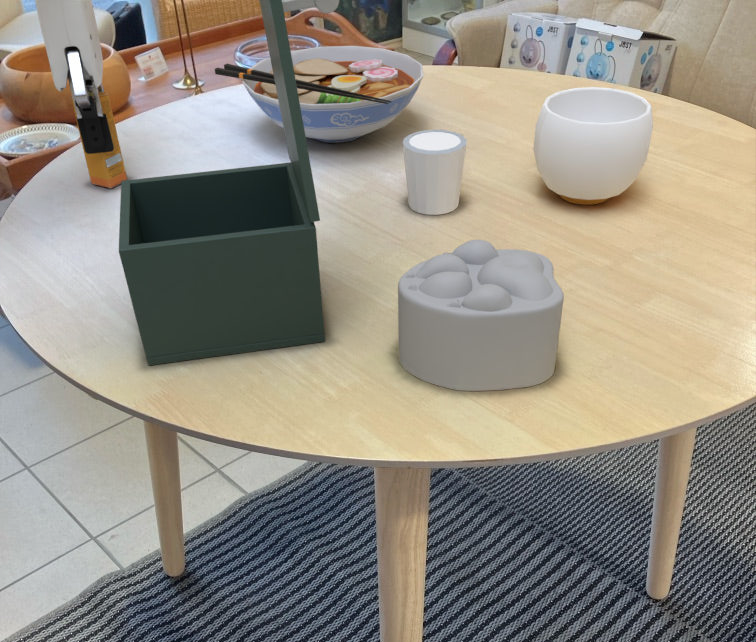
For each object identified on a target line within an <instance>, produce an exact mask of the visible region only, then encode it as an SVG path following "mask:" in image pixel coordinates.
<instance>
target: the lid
mask: <svg viewBox="0 0 756 642" xmlns="http://www.w3.org/2000/svg"><path fill="white" fill-rule="evenodd" d="M258 1H259V6H260V11H261V17H262V22H263V27H264V32H265V38H266V43H267V47H268V53H269V58H270V59H271V64H272V70H273V75H274V80H275V85H276V91H277V96H278V101H279V106H280V111H281V117H282V122H283V127H284V128H283V132H284V137H285V142H286V147H287V153H288V157H289V161H290V162H291V164H292V167H293V170H294V173H295V177H296V180H297V183H298V186H299V189H300V192H301V195H302V198H303V201H304V204H305V207H306V210H307V213H308V216H309V220H310V222H314V223H315V222H319V221H321V218H320V217H321V216H320V212H319V207H318V205H319V204H318V199H317V195H316V188H315V184H314V178H313V177H314V176H313V173H312V172H313V171H312V166H311V165H312V164H311V159H310V155H309V149H308V143H307V137H306V136H305V131H304V125H303V119H302V113H301V108H300V102H299V96H298V91H297V85H296V79H295V73H294V68H293V62H292V56H291V51H292V50H291V46H290V45H291V44H290V41H289V39H290V38H289V33H288V28H287V23H286V17H285V13H289V12H295V11H300V10H304V9H310V8H316V9H317V10H318V11H319V12H321V13H322V14H331V13H333V12H335V11H336V10H337V9H338V7H339V4H340V0H258Z"/></svg>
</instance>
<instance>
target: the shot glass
mask: <svg viewBox="0 0 756 642" xmlns="http://www.w3.org/2000/svg"><path fill="white" fill-rule="evenodd" d="M467 143H468V140H467V138H466V137H465V136H464V135H463V134H461V133H458V132H456V131H452V130H446V129H426V130H425V129H424V130H418V131H416V132H413V133H410V134H408V135H406V136H405V137H404V138H403V141H402V150H403V151H402V152H403V159H404V162H403V163H404V172H405V182H406V191H407V202H408V207H409V208H410V209H411V210H412V211H414V212H415V213H418V214H422V215H427V216H429V215H430V216H438V215H446V214H448V213H451V212H453V211H455V210H456V209H458V207H459V202H460V196H461V187H462V180H463V172H464V165H465V158H466V150H467Z"/></svg>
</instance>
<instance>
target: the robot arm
mask: <svg viewBox="0 0 756 642" xmlns="http://www.w3.org/2000/svg"><path fill="white" fill-rule="evenodd" d="M34 2H35V7H36V12H37V16H38V21H39V25H40V30H41V34H42V39H43V42H44V46H45V51H46V55H47V59H48V63H49V68H50V72H51V76H52V80H53V84H54V88H55V89H56V91H57V90H58V91H59V92H63V91H64V89H66V88H67V84H69V89H70V92H71V96H72V97H73V102H74V106H75V110H76V115H77V117H76V116H75V120H76V119H77V121H76V124H77V123H78V125H77V127H78V126H79V129H78V131H79V130H80V133H79V135H80V134H81V138H82V142H83V145H84V149H85V152H86V153H87V154H94V153H103V152H112V151H113V150H114V145H113V141H112V137H111V133H110V129H109V124H108V120H107V116H106V114H103V111H102V106H101V101H100V97H99V92H104V93H106V92H105V89H104V85H103V76H104V74H103V73H104V58H103V52H102V45H101V40H100V34H99V28H98V24H97V20H96V19H97V18H96V16H95V15H96V14H95V11H94V6H93V2H92V0H34ZM88 92H93V97H94V99H93V97H92V96H89V94H88ZM94 101H95V102H94ZM81 138H80V139H81ZM82 142H81V143H82Z"/></svg>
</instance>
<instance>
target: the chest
mask: <svg viewBox="0 0 756 642" xmlns="http://www.w3.org/2000/svg"><path fill="white" fill-rule="evenodd" d="M119 203H120V205H119V206H120V207H119V227H118V228H119V230H118V231H119V232H118V254H119V258H120V261H121V266H122V270H123V273H124V277H125V282H126V284H127V289H128V293H129V296H130V300H131V305H132V308H133V313H134V316H135V320H136V323H137V328H138V332H139V335H140V340H141V343H142V348H143V352H144V354H145V355H144V356H145V358H146V363H147V366H154V365H155V366H156V365H162V364H170V363H177V362H187V361H192V360H193V361H194V360H200V359H207V358H212V357H215V358H216V357H221V356H228V355H235V354H245V353H252V352H259V351H266V350H272V349H274V350H275V349H280V348H287V347H294V346H295V347H296V346H303V345H310V344H317V343H318V344H319V343H325V342H326V334H325V322H324V321H325V320H324V309H323V296H322V285H321V275H320V272H321V271H320V260H319V251H318V250H319V249H318V239H317V238H318V237H317V227H316V225H315V222H310V220H309V216H308V213H307V210H306V207H305V204H304V201H303V198H302V195H301V192H300V189H299V186H298V183H297V180H296V177H295V173H294V170H293V167H292V164H291V161H290V162H283V163H273V164H265V165H264V164H263V165H254V166H245V167H236V168H227V169H217V170H209V171H200V172H191V173H180V174H172V175H171V174H170V175H163V176H153V177H145V178H135V179H127V180H125V181H121V184H120V202H119Z"/></svg>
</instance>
